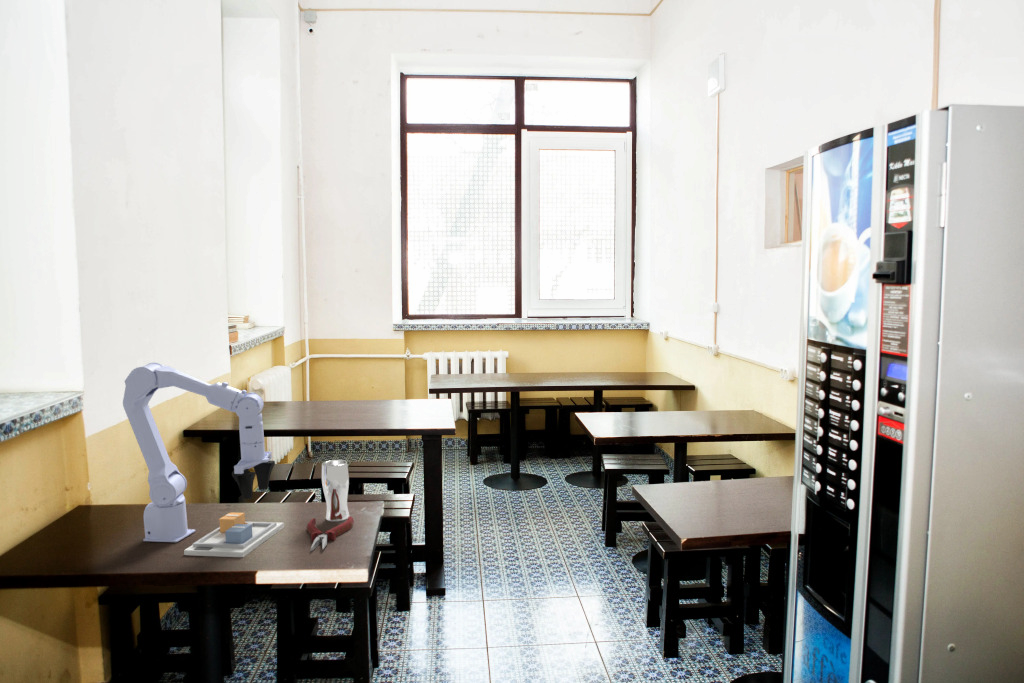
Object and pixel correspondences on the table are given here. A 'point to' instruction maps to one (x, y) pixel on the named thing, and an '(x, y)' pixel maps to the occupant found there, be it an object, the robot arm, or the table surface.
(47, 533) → the table surface
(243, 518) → the orange white-striped block
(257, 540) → the white flat tray
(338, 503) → the beer glass
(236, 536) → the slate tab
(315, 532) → the pliers
